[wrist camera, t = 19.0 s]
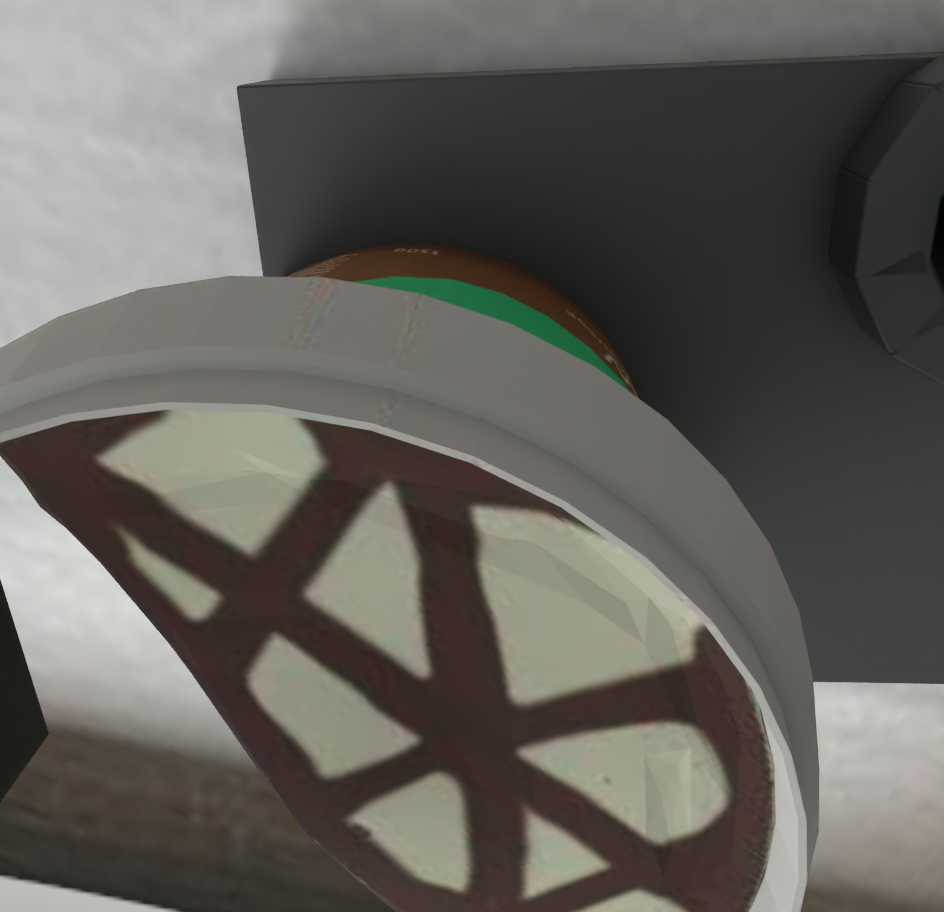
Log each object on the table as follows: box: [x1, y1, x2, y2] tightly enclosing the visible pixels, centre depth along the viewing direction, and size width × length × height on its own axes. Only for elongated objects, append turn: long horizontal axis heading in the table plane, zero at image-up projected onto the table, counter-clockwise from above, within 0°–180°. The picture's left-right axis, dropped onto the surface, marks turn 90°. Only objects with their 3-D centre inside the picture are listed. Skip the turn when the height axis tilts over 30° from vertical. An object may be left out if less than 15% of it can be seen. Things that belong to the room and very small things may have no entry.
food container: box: [0, 244, 819, 912], centre depth 13 cm, size 12×6×10 cm, turn 32°
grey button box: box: [237, 52, 944, 684], centre depth 18 cm, size 16×13×4 cm
